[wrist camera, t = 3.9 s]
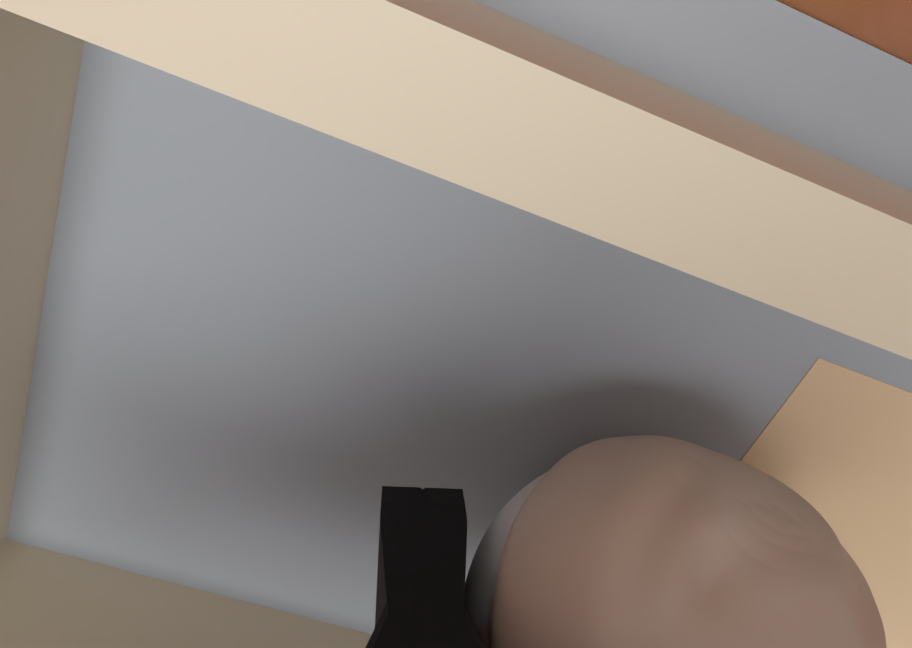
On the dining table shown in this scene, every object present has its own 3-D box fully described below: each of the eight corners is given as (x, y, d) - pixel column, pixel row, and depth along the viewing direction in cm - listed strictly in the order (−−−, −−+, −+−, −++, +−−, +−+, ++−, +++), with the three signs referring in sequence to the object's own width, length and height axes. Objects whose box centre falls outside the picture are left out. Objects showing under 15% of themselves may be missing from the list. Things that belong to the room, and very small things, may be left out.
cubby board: (1369, 282, 13) (1612, 392, 10) (779, 810, 21) (827, 950, 18) (-34, -384, 9) (-255, -498, 6) (-101, 598, 17) (-208, 738, 14)
